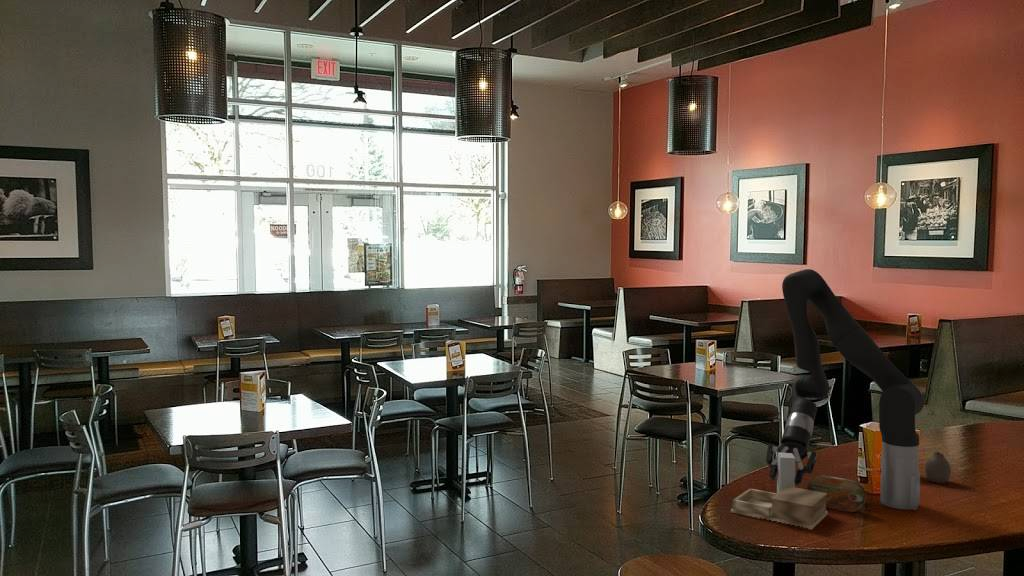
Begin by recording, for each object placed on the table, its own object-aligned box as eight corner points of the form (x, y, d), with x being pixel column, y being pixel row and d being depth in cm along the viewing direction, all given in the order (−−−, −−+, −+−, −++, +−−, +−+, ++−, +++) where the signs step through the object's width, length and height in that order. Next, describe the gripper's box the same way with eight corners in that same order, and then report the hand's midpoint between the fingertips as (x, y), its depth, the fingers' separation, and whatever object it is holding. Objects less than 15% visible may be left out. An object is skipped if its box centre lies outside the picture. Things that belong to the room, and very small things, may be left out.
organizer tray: (827, 514, 203) (827, 492, 202) (811, 529, 192) (812, 506, 191) (749, 498, 215) (750, 478, 215) (730, 512, 204) (731, 491, 204)
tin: (806, 503, 212) (807, 473, 211) (810, 500, 214) (811, 471, 214) (863, 515, 202) (864, 484, 201) (867, 512, 204) (868, 481, 204)
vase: (926, 483, 229) (926, 454, 229) (923, 477, 235) (924, 449, 235) (952, 486, 226) (953, 457, 226) (948, 479, 233) (949, 451, 232)
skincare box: (795, 500, 214) (796, 458, 213) (779, 499, 215) (780, 457, 214) (792, 493, 220) (792, 452, 219) (776, 492, 221) (777, 452, 220)
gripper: (770, 421, 227) (755, 469, 218) (820, 428, 218) (807, 478, 209) (776, 435, 231) (762, 483, 222) (825, 442, 222) (813, 493, 213)
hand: (784, 481), depth 216 cm, fingers closed on skincare box, 6 cm apart
